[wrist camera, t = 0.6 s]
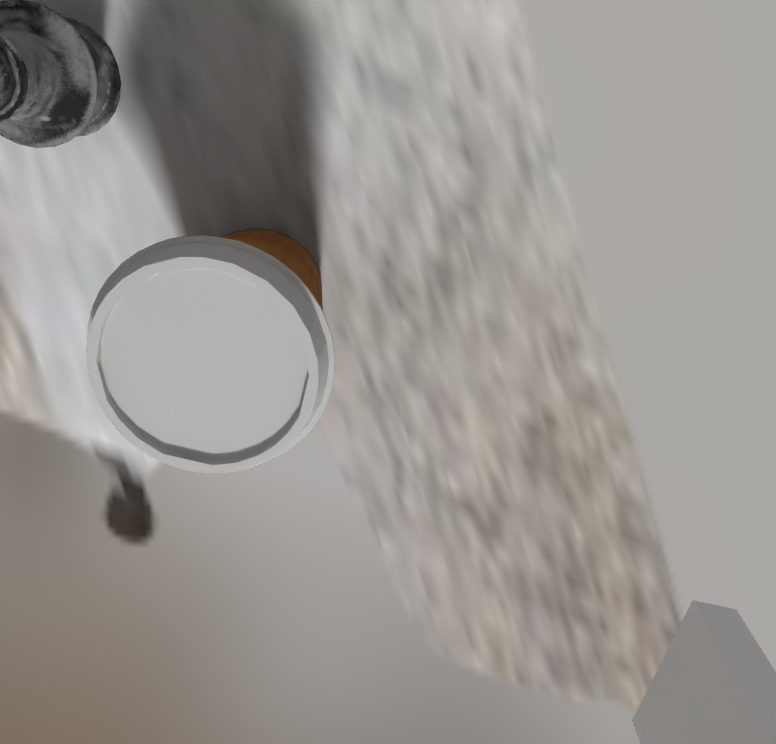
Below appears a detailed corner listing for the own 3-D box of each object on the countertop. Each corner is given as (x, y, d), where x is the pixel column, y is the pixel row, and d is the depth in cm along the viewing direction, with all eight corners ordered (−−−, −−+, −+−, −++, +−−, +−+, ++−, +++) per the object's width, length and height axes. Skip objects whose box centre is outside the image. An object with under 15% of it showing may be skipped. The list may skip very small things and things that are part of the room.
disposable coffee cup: (339, 186, 35) (310, 228, 24) (362, 364, 39) (347, 473, 28) (152, 207, 36) (40, 257, 25) (192, 381, 39) (109, 494, 28)
